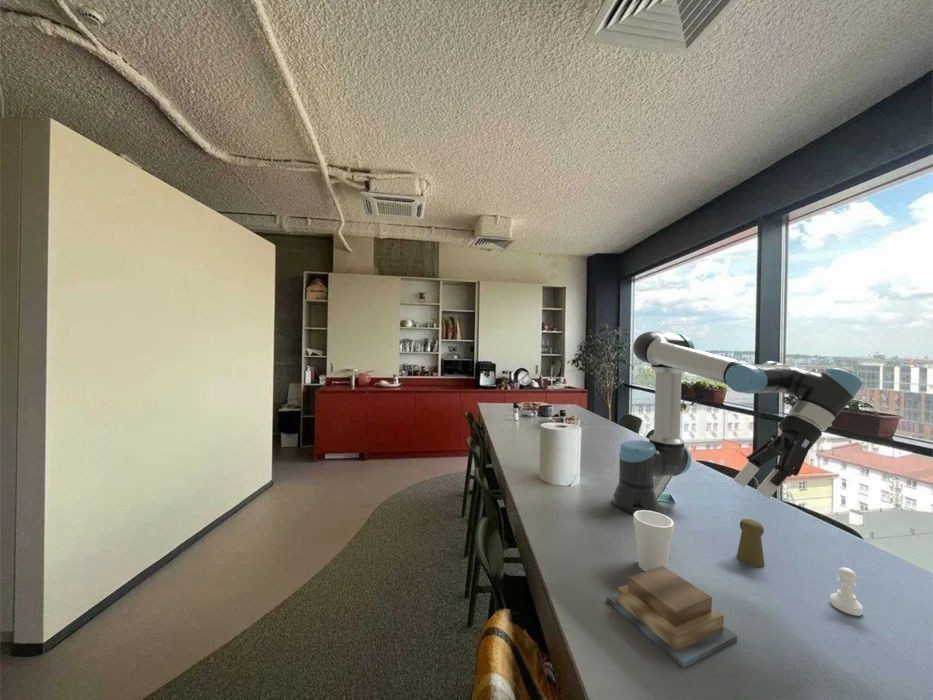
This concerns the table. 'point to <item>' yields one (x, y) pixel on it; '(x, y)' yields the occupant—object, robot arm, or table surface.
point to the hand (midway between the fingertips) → (749, 488)
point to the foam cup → (652, 538)
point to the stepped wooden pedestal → (673, 615)
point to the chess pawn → (846, 594)
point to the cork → (751, 543)
